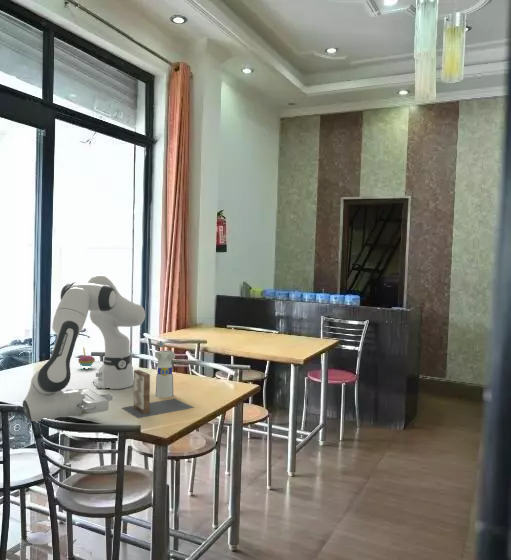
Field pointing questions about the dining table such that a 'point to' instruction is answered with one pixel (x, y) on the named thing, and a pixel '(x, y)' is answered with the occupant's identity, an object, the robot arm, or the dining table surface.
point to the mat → (159, 408)
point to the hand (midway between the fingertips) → (111, 396)
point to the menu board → (141, 391)
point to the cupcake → (86, 360)
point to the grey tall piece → (164, 373)
